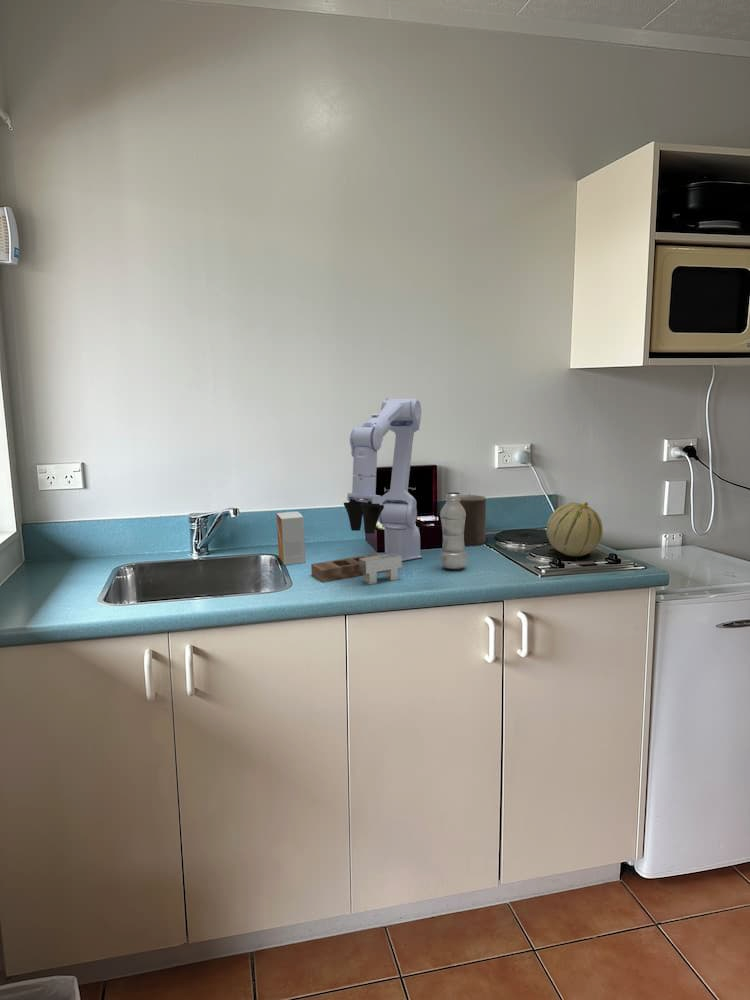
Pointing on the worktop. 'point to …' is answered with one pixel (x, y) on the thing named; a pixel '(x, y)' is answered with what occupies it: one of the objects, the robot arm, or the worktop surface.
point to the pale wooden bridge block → (380, 566)
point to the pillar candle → (474, 519)
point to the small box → (291, 538)
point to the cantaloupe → (574, 529)
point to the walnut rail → (338, 568)
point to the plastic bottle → (453, 532)
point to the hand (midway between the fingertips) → (362, 531)
